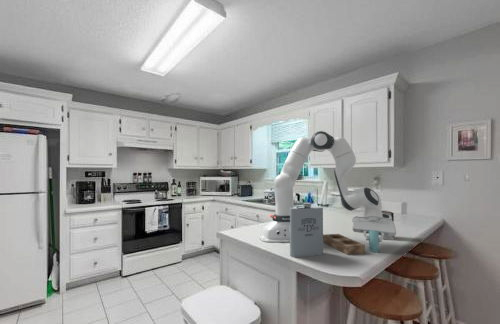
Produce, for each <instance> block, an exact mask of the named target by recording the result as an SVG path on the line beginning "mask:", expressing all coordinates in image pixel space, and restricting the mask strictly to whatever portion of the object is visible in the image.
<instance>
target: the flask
mask: <svg viewBox="0 0 500 324" xmlns="http://www.w3.org/2000/svg"><path fill="white" fill-rule="evenodd" d="M323 235H324V207H323V206H312V203H311V202H303V205H302V204H300V205H299V204H297V205H296V207H294V208H290V242H289V256H290V257H292V258H304V257H306V256H307V257H313V256H315V255H316V256H319V255H324V242H323ZM316 256H315V257H316Z"/></svg>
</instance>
